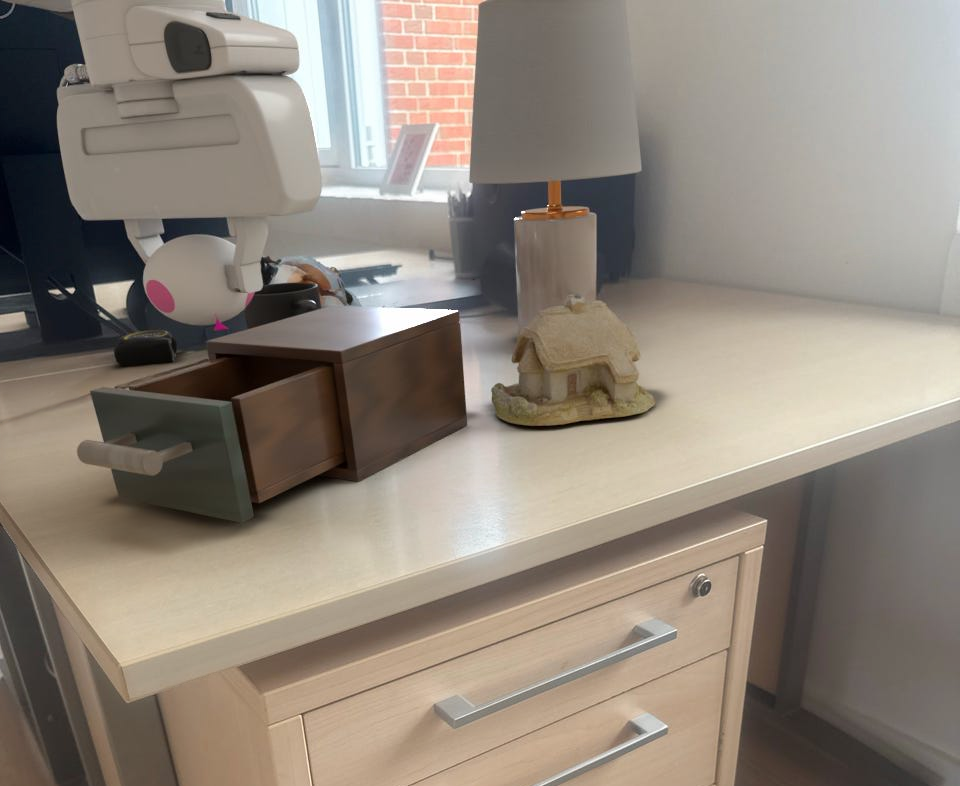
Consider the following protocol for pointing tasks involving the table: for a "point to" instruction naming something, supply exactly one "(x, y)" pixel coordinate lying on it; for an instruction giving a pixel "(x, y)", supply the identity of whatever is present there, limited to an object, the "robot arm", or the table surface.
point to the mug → (281, 302)
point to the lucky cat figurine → (308, 278)
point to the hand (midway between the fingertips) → (207, 290)
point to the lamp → (553, 129)
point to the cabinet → (373, 375)
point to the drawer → (219, 434)
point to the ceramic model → (573, 368)
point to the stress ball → (194, 281)
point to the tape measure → (145, 348)
